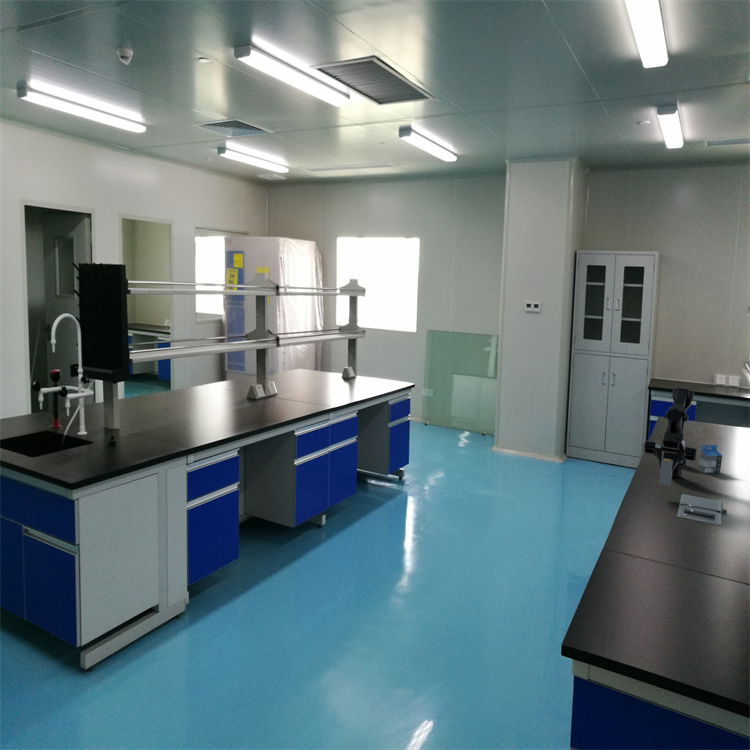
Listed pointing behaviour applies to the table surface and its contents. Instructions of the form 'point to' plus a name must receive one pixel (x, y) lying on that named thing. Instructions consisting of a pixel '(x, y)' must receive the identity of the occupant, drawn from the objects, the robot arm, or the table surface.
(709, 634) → the table surface
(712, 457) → the label tape cartridge
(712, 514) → the case
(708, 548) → the table surface
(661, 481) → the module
